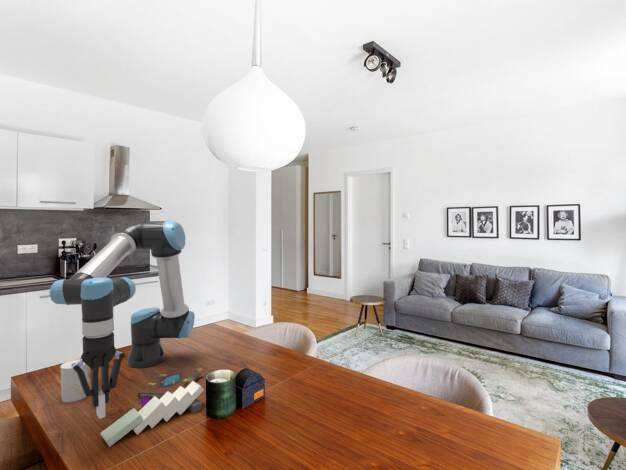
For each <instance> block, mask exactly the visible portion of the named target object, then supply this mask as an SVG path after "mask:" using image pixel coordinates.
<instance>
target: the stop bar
mask: <svg viewBox="0 0 626 470" xmlns="http://www.w3.org/2000/svg"><path fill="white" fill-rule="evenodd" d="M202 405H203V403H202V401H200V400H199V399H197V398H196V399H195V400H194V401H193V402H192V403H191V404H190V405H189V407H188V408H187V409H186V410H188V411H189V412H191V413H192V414H194V415H195V414H197V412H198V413H199V411H200V412H201V411H202V410H203V406H202Z"/></svg>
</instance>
